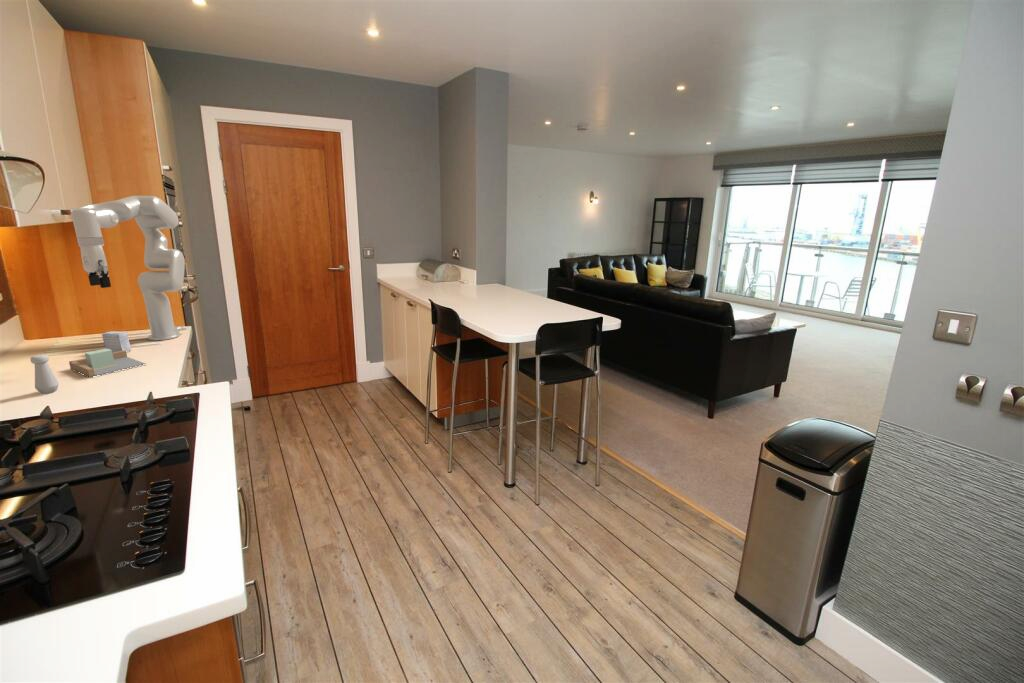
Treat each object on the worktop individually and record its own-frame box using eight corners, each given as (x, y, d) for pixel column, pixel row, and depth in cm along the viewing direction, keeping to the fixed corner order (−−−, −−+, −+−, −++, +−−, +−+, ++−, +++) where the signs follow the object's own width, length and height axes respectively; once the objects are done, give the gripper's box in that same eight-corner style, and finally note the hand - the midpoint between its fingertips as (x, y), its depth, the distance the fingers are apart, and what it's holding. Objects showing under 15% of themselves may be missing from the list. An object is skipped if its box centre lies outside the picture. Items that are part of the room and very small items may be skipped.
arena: (125, 357, 202) (124, 350, 201) (146, 365, 193) (144, 357, 192) (70, 369, 187) (68, 361, 186) (89, 378, 178) (87, 369, 177)
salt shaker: (53, 387, 169) (44, 352, 165) (63, 390, 167) (54, 353, 163) (32, 393, 163) (22, 356, 160) (43, 396, 161) (32, 358, 158)
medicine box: (131, 350, 211) (127, 331, 209) (122, 353, 207) (118, 334, 205) (115, 350, 212) (110, 331, 210) (105, 353, 208) (101, 333, 206)
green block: (88, 367, 187) (84, 352, 186) (110, 362, 193) (106, 348, 191) (93, 369, 185) (89, 354, 183) (115, 364, 191) (111, 350, 189)
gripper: (69, 241, 188) (80, 285, 193) (87, 243, 179) (98, 289, 184) (93, 240, 194) (103, 283, 199) (112, 242, 185) (121, 287, 190)
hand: (100, 286), depth 191 cm, fingers open, 9 cm apart
